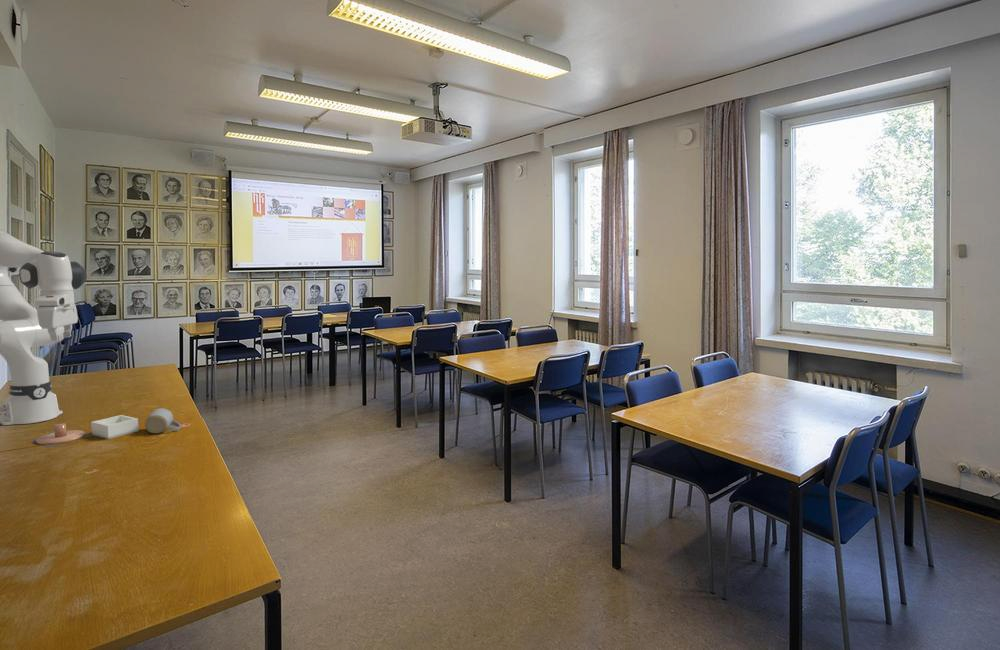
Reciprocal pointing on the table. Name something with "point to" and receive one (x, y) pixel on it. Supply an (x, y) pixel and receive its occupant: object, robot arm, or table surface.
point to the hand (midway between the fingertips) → (61, 339)
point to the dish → (114, 426)
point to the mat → (59, 443)
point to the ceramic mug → (161, 421)
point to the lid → (60, 435)
